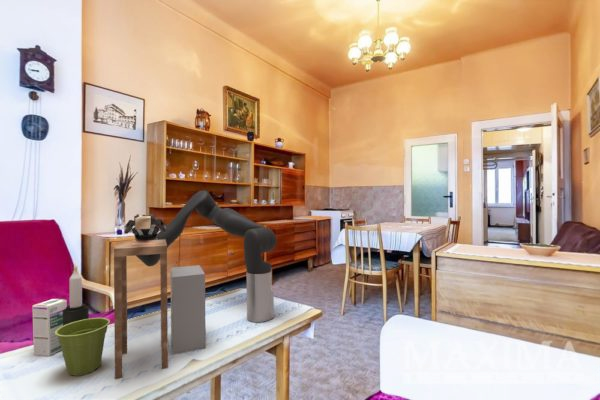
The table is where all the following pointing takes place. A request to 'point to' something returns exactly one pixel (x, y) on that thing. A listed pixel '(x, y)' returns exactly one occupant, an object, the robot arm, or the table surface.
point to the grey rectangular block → (187, 309)
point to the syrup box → (47, 326)
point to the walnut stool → (121, 295)
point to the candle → (75, 301)
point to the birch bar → (143, 222)
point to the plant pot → (82, 344)
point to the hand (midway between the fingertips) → (144, 216)
